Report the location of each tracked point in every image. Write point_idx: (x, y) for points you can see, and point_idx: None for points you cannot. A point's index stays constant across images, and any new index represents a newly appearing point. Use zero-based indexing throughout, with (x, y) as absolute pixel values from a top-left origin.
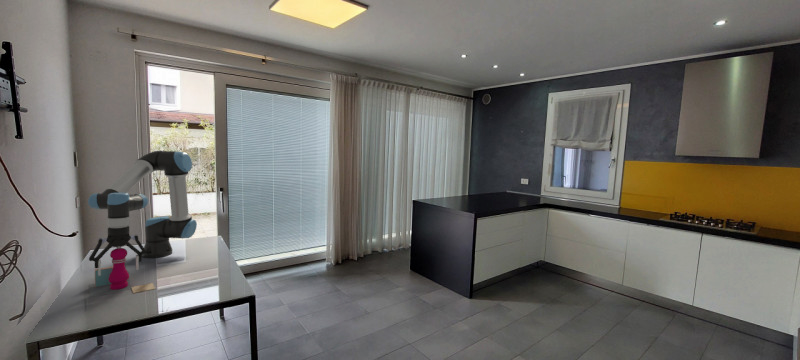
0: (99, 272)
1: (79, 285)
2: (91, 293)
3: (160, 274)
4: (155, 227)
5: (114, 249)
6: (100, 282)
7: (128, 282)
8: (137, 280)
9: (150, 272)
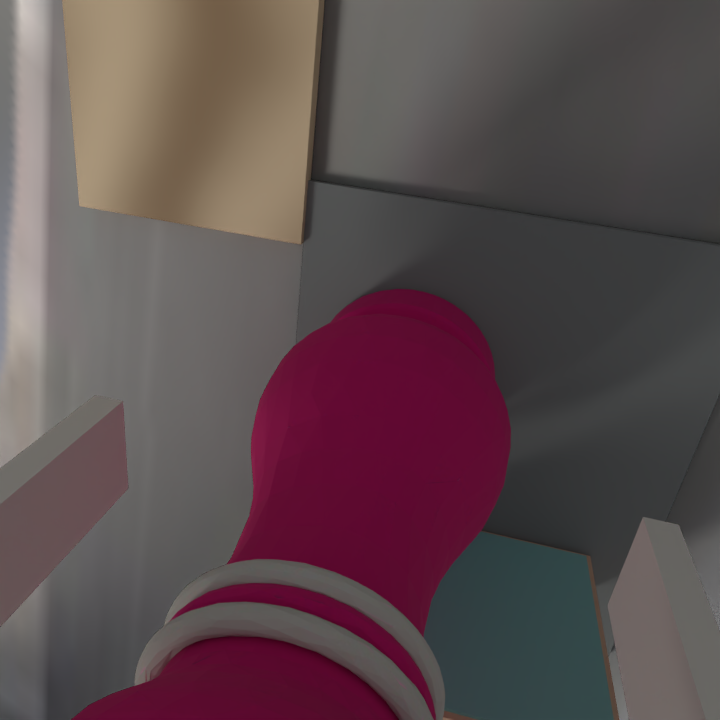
0: (678, 568)
1: None
2: (699, 384)
3: None
4: None
5: None
6: (544, 576)
7: None
8: (213, 456)
9: (92, 581)
